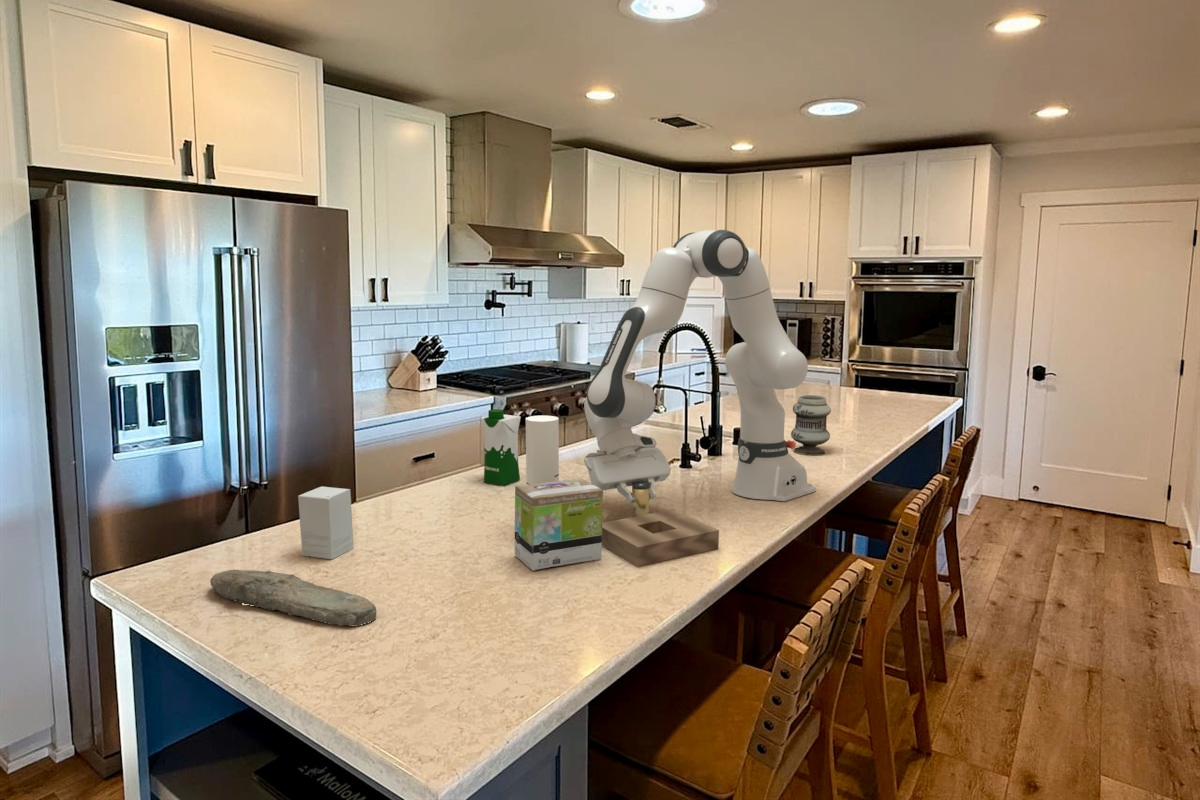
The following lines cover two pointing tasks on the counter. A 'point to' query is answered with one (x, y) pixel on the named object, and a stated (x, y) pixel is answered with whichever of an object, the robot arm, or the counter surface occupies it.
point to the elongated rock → (293, 596)
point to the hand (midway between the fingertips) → (642, 499)
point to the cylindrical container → (542, 449)
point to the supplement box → (326, 522)
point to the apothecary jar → (811, 424)
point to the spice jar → (641, 498)
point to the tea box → (558, 523)
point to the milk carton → (500, 447)
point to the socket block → (658, 537)
